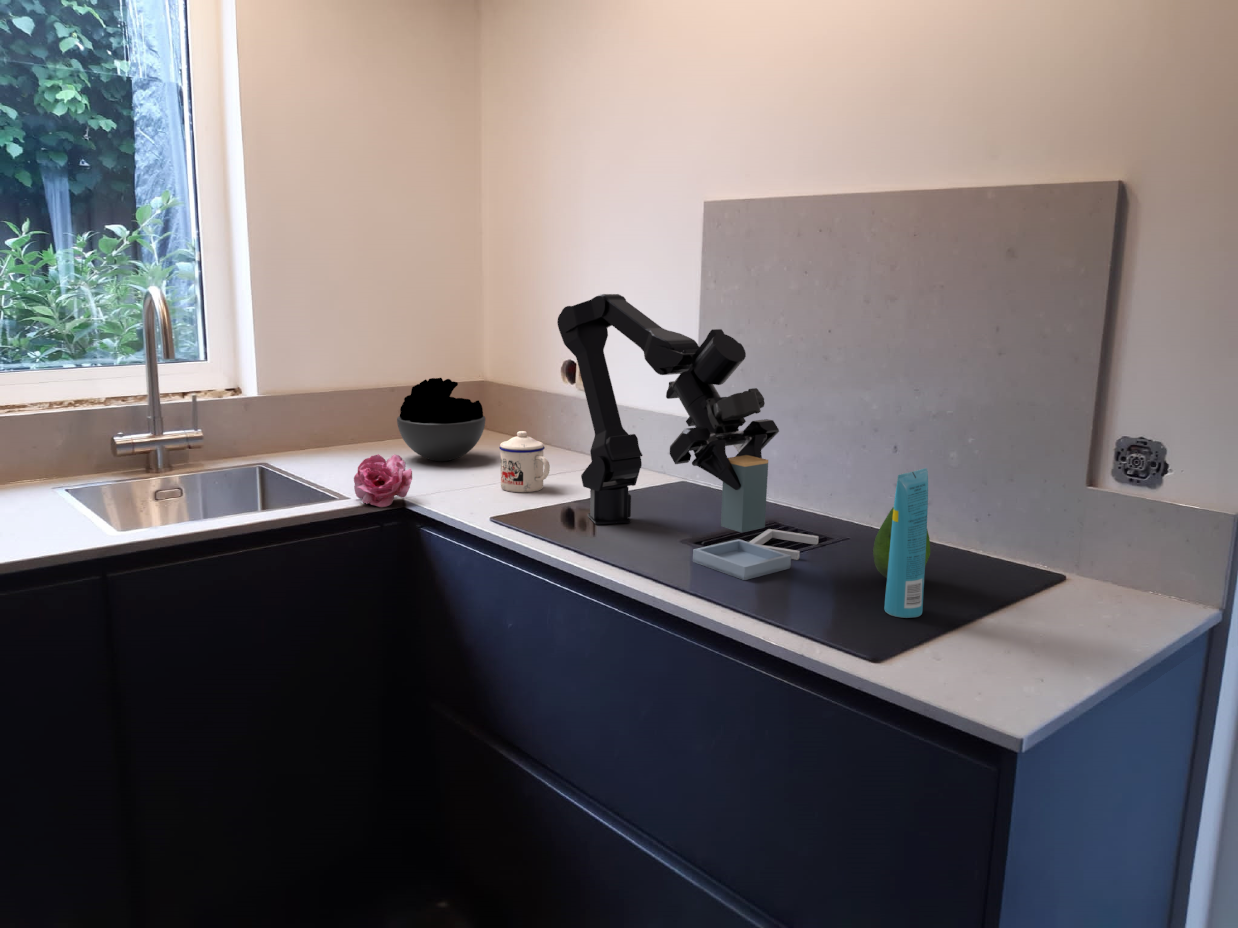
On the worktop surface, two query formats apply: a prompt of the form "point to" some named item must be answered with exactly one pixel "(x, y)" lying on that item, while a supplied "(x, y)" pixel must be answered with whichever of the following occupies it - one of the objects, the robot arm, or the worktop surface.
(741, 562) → the tray
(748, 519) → the block
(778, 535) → the frame
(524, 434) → the teacup with lid
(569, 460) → the worktop surface
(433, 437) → the bowl of black rocks
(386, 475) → the flower
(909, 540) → the tube
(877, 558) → the avocado
